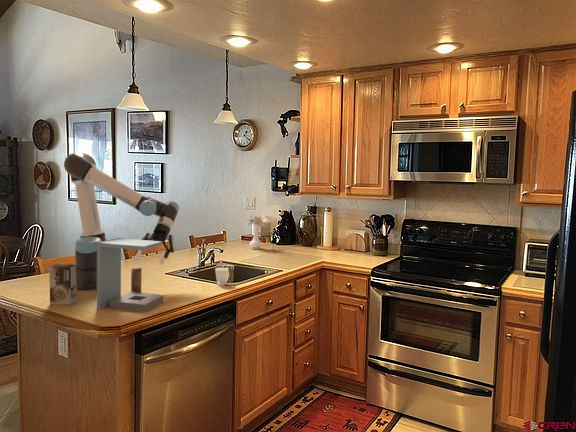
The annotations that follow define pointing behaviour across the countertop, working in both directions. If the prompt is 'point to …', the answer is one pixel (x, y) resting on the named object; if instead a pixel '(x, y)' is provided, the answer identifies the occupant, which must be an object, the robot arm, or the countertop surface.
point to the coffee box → (63, 284)
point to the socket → (136, 301)
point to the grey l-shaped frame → (114, 266)
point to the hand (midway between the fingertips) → (148, 262)
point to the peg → (136, 279)
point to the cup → (222, 275)
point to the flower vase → (256, 231)
